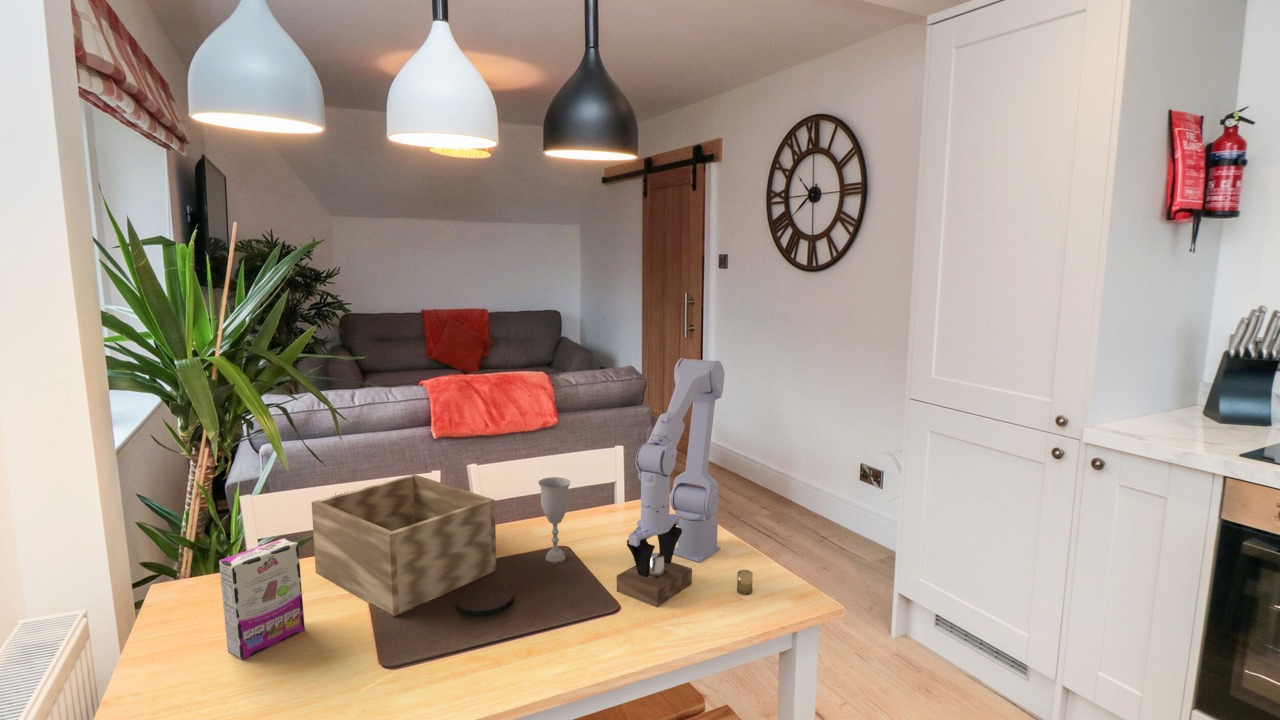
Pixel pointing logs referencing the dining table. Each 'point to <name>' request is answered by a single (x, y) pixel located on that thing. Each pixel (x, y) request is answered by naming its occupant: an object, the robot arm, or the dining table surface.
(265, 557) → the candy bar box
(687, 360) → the robot arm
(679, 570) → the walnut block
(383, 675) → the dining table surface
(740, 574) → the brass pin
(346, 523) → the wooden crate
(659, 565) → the steel pin
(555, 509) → the chalice
